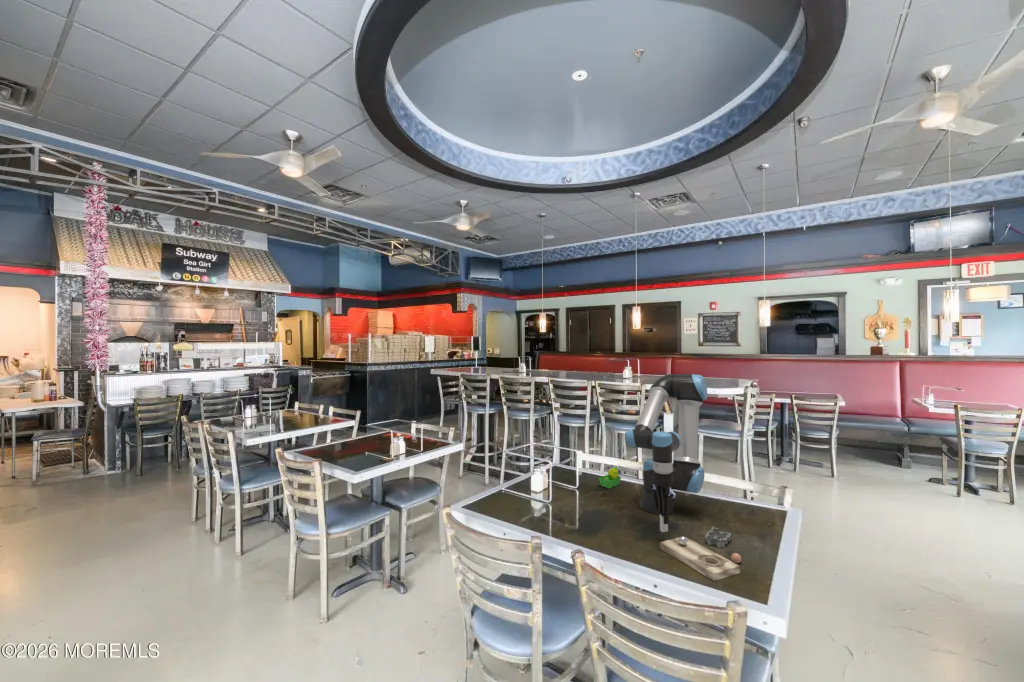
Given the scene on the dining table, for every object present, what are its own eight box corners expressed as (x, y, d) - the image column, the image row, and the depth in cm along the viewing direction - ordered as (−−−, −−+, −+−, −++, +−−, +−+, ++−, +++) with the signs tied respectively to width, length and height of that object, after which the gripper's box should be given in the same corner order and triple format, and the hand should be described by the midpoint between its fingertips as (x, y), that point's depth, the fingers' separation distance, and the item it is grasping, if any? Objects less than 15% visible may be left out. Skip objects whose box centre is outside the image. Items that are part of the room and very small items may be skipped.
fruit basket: (610, 482, 244) (610, 462, 244) (623, 486, 237) (623, 465, 237) (598, 487, 236) (597, 466, 236) (611, 491, 230) (610, 470, 230)
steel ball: (683, 542, 164) (682, 534, 164) (689, 546, 161) (689, 537, 161) (676, 544, 162) (676, 535, 162) (682, 547, 159) (682, 539, 160)
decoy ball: (735, 559, 155) (735, 550, 155) (743, 563, 152) (743, 554, 152) (729, 561, 154) (729, 552, 154) (737, 565, 151) (736, 556, 151)
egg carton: (713, 535, 176) (713, 524, 176) (733, 540, 170) (733, 530, 170) (702, 543, 168) (702, 532, 169) (722, 549, 163) (722, 538, 163)
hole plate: (684, 542, 169) (684, 536, 169) (740, 573, 146) (739, 565, 146) (660, 548, 164) (660, 542, 164) (713, 581, 141) (713, 573, 141)
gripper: (644, 468, 176) (645, 526, 175) (667, 477, 164) (668, 539, 163) (658, 466, 178) (659, 523, 178) (682, 474, 166) (683, 535, 166)
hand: (664, 530), depth 171 cm, fingers closed
